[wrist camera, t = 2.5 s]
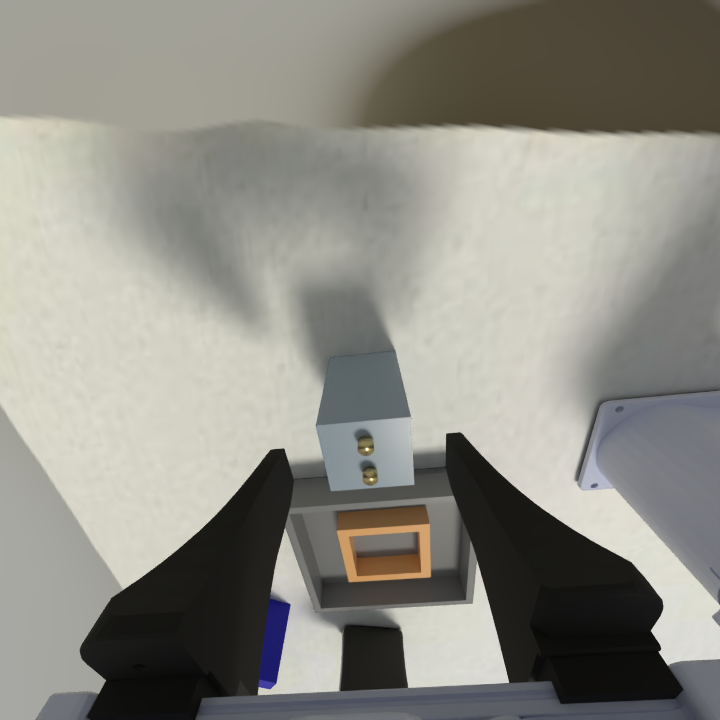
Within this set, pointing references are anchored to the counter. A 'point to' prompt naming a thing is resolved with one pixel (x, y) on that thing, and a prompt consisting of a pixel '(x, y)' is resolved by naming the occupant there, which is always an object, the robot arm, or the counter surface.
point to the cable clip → (273, 642)
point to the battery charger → (372, 659)
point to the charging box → (382, 544)
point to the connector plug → (365, 423)
